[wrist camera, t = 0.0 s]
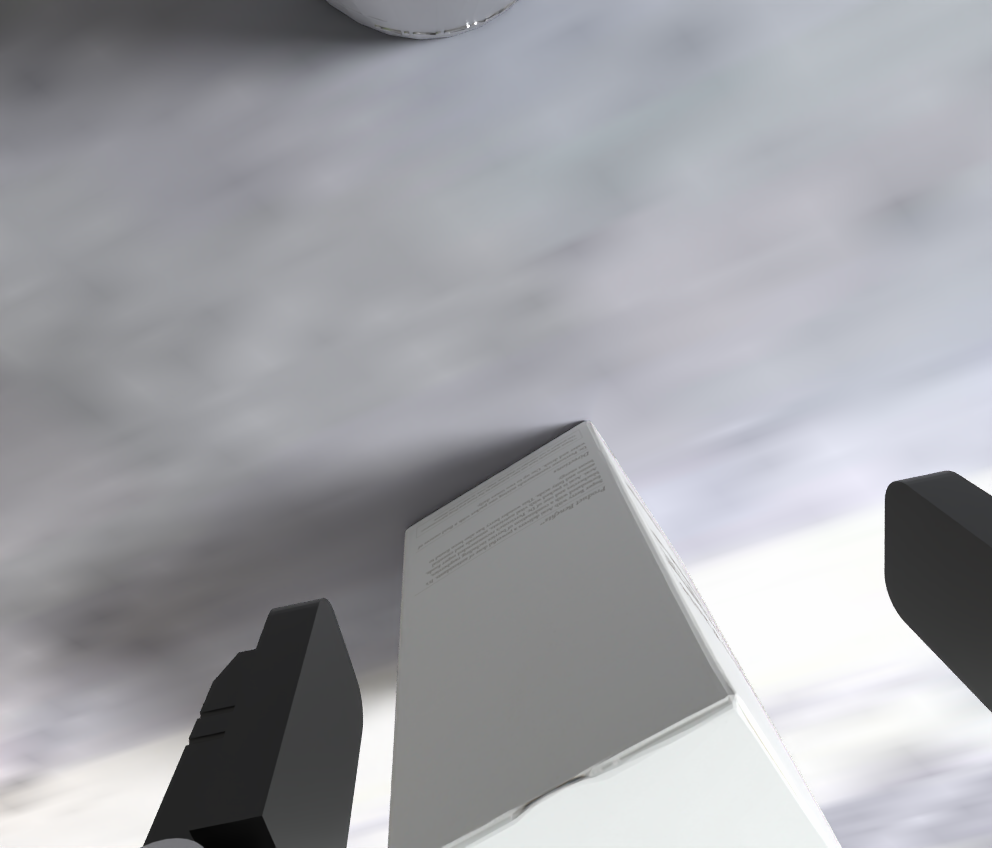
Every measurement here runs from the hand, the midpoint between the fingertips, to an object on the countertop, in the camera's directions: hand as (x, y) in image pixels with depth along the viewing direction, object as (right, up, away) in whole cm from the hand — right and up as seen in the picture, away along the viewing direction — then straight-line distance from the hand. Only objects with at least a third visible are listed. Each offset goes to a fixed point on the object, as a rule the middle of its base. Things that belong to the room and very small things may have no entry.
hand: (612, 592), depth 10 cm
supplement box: (+1, -3, +20) cm, 20 cm away
